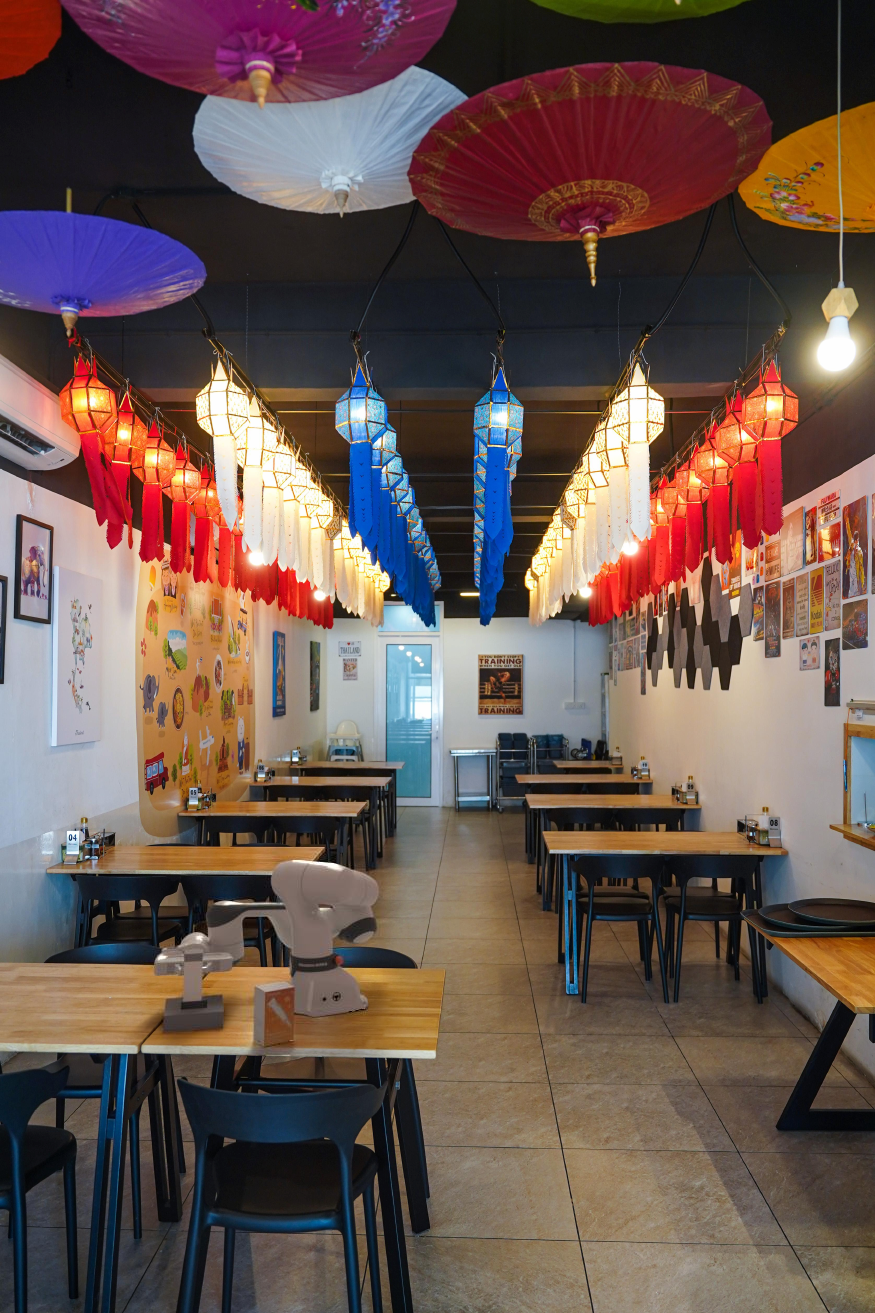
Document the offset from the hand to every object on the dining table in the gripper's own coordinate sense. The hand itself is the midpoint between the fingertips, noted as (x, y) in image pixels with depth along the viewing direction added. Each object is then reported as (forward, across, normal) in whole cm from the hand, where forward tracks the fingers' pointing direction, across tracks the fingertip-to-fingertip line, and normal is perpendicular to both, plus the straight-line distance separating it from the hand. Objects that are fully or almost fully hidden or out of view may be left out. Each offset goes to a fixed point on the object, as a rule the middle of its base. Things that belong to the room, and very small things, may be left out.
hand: (193, 971), depth 231 cm
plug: (-1, 0, -7) cm, 7 cm away
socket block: (-1, 0, -13) cm, 13 cm away
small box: (+19, -20, -13) cm, 30 cm away
